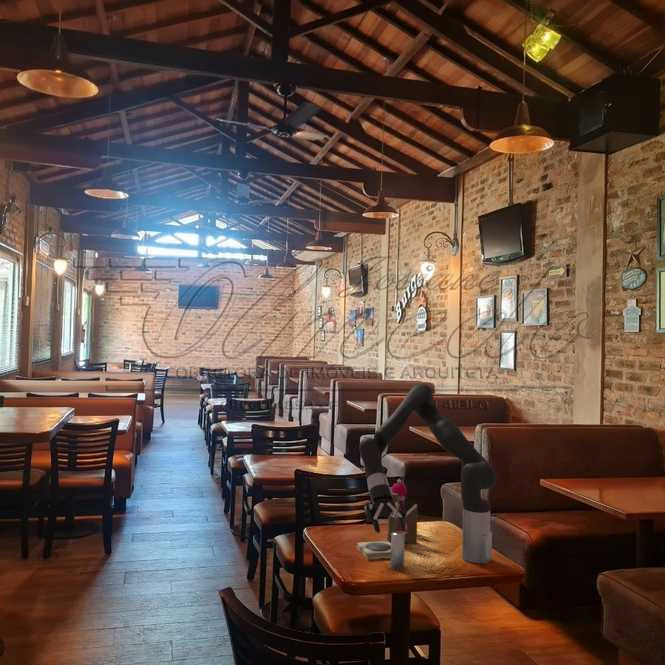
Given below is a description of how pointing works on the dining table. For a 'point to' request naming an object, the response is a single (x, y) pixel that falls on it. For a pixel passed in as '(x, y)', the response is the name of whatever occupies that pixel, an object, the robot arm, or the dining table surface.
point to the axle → (397, 550)
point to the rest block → (375, 549)
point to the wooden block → (408, 520)
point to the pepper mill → (400, 494)
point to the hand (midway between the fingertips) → (390, 530)
